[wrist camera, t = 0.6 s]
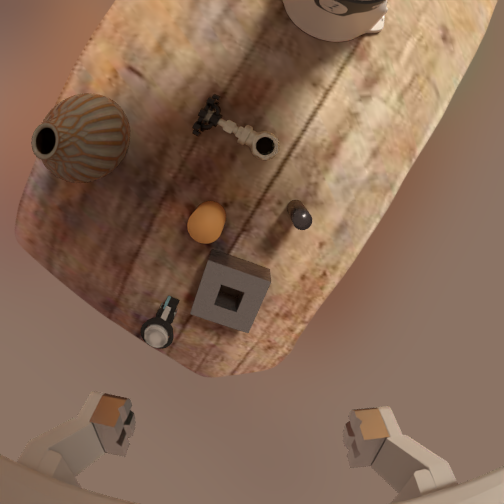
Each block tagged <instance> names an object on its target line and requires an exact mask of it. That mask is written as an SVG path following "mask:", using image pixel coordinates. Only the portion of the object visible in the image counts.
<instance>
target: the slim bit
mask: <svg viewBox="0 0 504 504" xmlns="http://www.w3.org/2000/svg"><path fill="white" fill-rule="evenodd" d="M287 210H288V213H289V215H290V217H291V220H292V222H293V224H294V226H295V227H296V228H297V229H299V230H305V229H308V228H309V227H310V226H311V224H312V217H311V215H310V214H309V212H308V211H307V209H306V208H305V206H304V205H303V204H302V202H301V201H299V200H292V201H290V202H289V204H288V206H287Z"/></svg>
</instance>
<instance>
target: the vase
mask: <svg viewBox="0 0 504 504" xmlns="http://www.w3.org/2000/svg"><path fill="white" fill-rule="evenodd" d="M129 142H130V126H129V122H128V119H127V116H126V114H125V113H124V111H123V110H122V108H121V107H120V106H119V105H118V104H117V103H116V102H114V101H113V100H111V99H110V98H107V97H105V96H102V95H98V94H89V93H85V94H78V95H74V96H71V97H69V98H67V99H65V100H63V101H62V102H60V103H59V104H57V105H56V106H55V107H54V108H53V109H52V110H51V111H50V112H49V113H48V114H47V116H46V117H45V119H44V120H43V122H42V124H41V125H39V126H38V127H37V128H36V130H35V131H34V133H33V136H32V142H31V144H32V149H33V152H34V154H35V155H36V156H37V157H38V158H39V159H41V160H42V162H43V164H44V165H45V167H46V168H47V169H48V170H49V171H50V172H51V173H52V174H54V175H55V176H57V177H58V178H60V179H62V180H65V181H68V182H73V183H86V182H91V181H95V180H98V179H100V178H102V177H104V176H106V175H108V174H109V173H110V172H112V171H113V170H114V169H115V168H116V167H117V166H118V165H119V164H120V162H121V161H122V160H123V158H124V156H125V154H126V152H127V150H128V147H129Z"/></svg>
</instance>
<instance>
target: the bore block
mask: <svg viewBox="0 0 504 504" xmlns="http://www.w3.org/2000/svg"><path fill="white" fill-rule="evenodd" d="M270 283H271V276H270V269H268V268H265V267H263V266H260V265H257V264H254V263H251V262H248V261H245V260H243V259H240V258H237V257H234V256H231V255H228V254H225V253H223V252H220V251H217V250H214V249H212V251H211V254H210V256H209V259H208V262H207V265H206V268H205V271H204V274H203V277H202V280H201V283H200V286H199V289H198V292H197V295H196V298H195V301H194V304H193V307H192V310H191V313H190V314H191V315H194V316H197V317H200V318H203V319H206V320H209V321H212V322H215V323H218V324H221V325H224V326H227V327H230V328H233V329H237V330H240V331H243V332H246V333H249V330H250V328H251V326H252V324H253V322H254V319H255V317H256V315H257V313H258V310H259V308H260V306H261V304H262V301H263V299H264V297H265V295H266V292H267V290H268V288H269V286H270ZM221 285H224V286H227V287H230V288H233V289H236V290H239V291H241V292H240V294H239V297H238V298H237V297H234V296H232V295H229V294H226V293H223V292H220V291H219V290H220V287H221Z"/></svg>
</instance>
